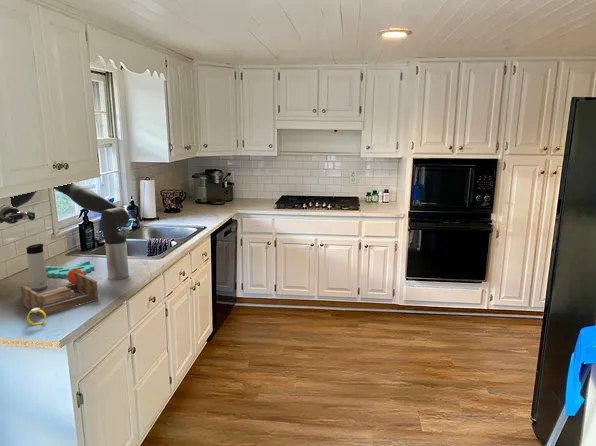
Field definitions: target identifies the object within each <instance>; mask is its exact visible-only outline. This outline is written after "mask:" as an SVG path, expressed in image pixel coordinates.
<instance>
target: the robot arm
mask: <svg viewBox="0 0 596 446" xmlns="http://www.w3.org/2000/svg"><path fill="white" fill-rule="evenodd" d="M52 189H53V190H55V191H57V192H60V193H62V194H64V195H65V196H67V197H69V198H70V199H71V201H72V202H74V203H75V204H76V205H78V206H80V207H81V208H83V209H84V210H86V211H89V212H94V213H97V214H100V215H101V216H100V224H101V230H102V236H103V239H104V242H105V243H104V244H105V254H106V264H107V265H106V270H107V278H108V279H110V280H122V279H123V280H124V279H126V278H128V277H129V261H128V259H129V258H128V248H127V237H126V235H125V234H123V233H118V229H119V228H121V227H124V226H126V225H128V224H129V222H130V216H129V214H128V212H127V210H125V209H124V208H123V207H121V206H119V205H117V204H115V203H113V202H111V201H109V200H107V199H105V198H104V197H102V196H101V195H99V194H98V193H96V192H94V191H93V190H92V189H90V188H89V187H86V186H83V185H80V184H77V183H76V182H75V183H71V184H67V185H63V186H58V187H54V188H52ZM36 193H37V191H35V192H31V193H27V194H22V195H18V196H14V198H13V197H10V198H11V204H12V206H13V207H16V208H13V207H10V206H7V205H6V204H4V205H3V206H1V207H0V224H3V223H6V224H9V225H14V224H16V223H18V222H20V221H27V220H30V221H34V220H35V219H36V213H35V212H32V211H27V212H24V211H23V212H21V211H20V210H19V209H18V208H19V207H21V206H23V205H25V204H27V203H28V202H29V201H31V200H32V199H33V197H34V196H35V194H36Z"/></svg>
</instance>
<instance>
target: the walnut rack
mask: <svg viewBox="0 0 596 446" xmlns="http://www.w3.org/2000/svg"><path fill="white" fill-rule="evenodd" d="M75 283H76V284H74V283H71V284H70V285H66V286H65V285H64V286H65V287H67V288H70V289H71V290H73V291H74V292H79V293H82V294H83V295H80V296H76V297H73V298H68V299H67V300H63V301H62V300H61V301H60V302H59V301H57V302H54V303H50V304H47V305H43V303H42V296H41V295H40V293H36V292H35V291H33V290H31V289H30V288H28V287H29V286H27V285H24V284H21V285H20V293H21V300H22V305H23V306H25V307H26V308H28V309H29V310H30V311H31V310H32V309H34V308H40V310H43V311H44V312H45V313H46V316H47V315H50V314H54V313H56V312H61V311H64V310H67V309H70V307H71V308H74V307H76V305H77V306H80V305H79V304H81V305H83V304H84V305H85V304H87V302H88V303H90V301H91V302H93V301H97V300H99V291H98V282H97V280H95V279H93V278H90V277H89V276H86V275H85V274H84V275H82V274H80V273H78V272H76V273H75ZM53 290H54V289H53ZM49 291H50V290H49ZM45 292H47V291H45ZM41 293H43V292H41ZM73 306H74V307H73ZM34 313H35V314H36V315H38V317H39V316H40V317H42V316H43V317H44V315H43V314H42V313H41V312H34Z"/></svg>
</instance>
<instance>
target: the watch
mask: <svg viewBox="0 0 596 446" xmlns="http://www.w3.org/2000/svg"><path fill="white" fill-rule="evenodd" d="M35 312H41V313H42V314H43V315H44V316H43V321H42V322H41V321H40V322H34V321H31V319H30V314H31V313H35ZM46 320H47V315H46V313H45V312H44V311H43V310H40V308H34V309H32V310H30V311H29V312H28V314H27V315H26V321H27V322H28V324H30V326H36V325H37V326H39V325H43V324H44V323H45V321H46Z"/></svg>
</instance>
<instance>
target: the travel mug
mask: <svg viewBox="0 0 596 446" xmlns="http://www.w3.org/2000/svg"><path fill="white" fill-rule="evenodd" d="M44 246H45V245H44V243H36V244H32V245H28V246H27V247H26V257H27V258H26V259H27V265H28V273H29V281H30V282H29V283H30V287H31V290H33V291H40V290H44V289H46V288H47V287H48V286H47V283H48V278H47V271H46V268H45V267H46V262H45V255H44V254H45V253H44Z"/></svg>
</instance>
